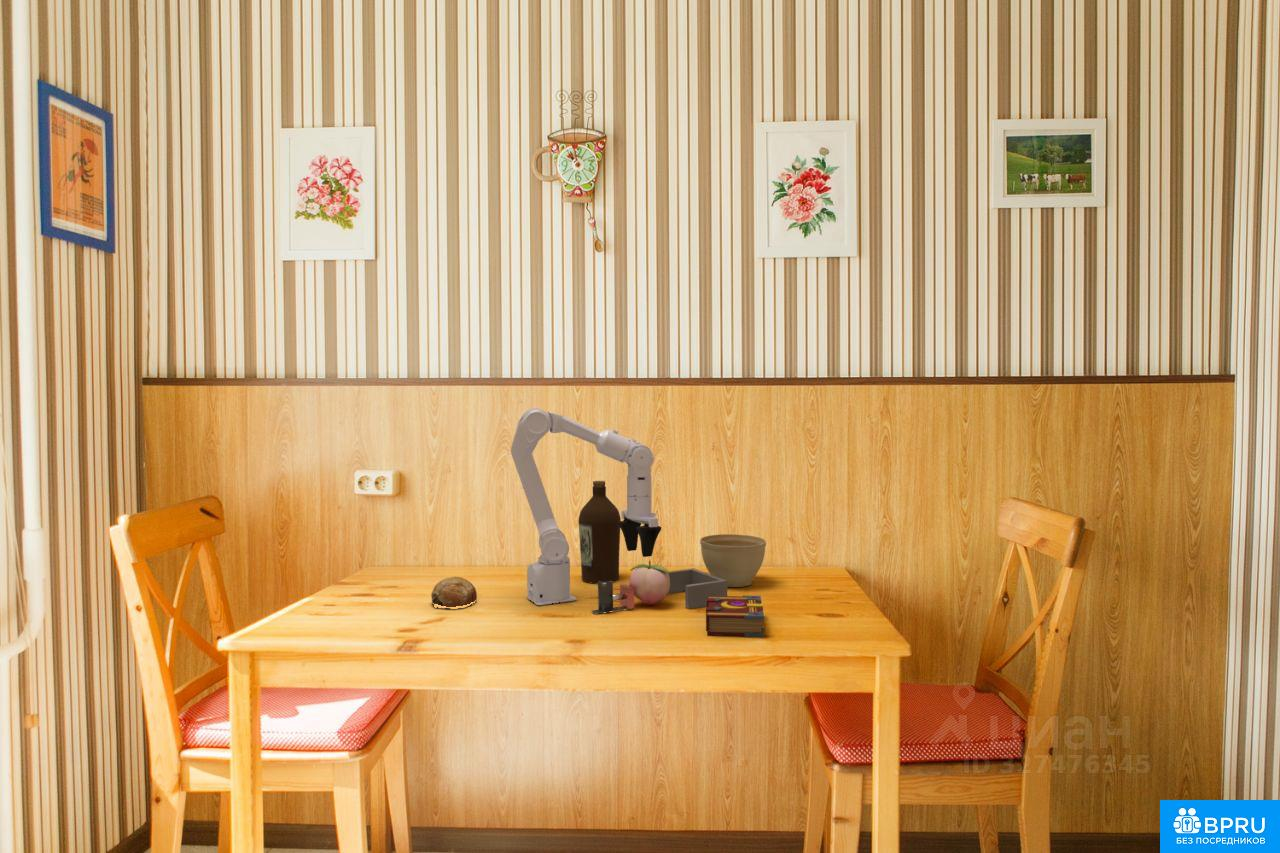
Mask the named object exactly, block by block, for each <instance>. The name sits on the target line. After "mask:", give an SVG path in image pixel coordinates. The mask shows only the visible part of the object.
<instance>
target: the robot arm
mask: <svg viewBox="0 0 1280 853" xmlns="http://www.w3.org/2000/svg"><path fill="white" fill-rule="evenodd" d="M549 432H550V434H559V433H565V434H567V435H570V436H572V437H576V438H578V439H580V440H583V441H585V442H587V443H590V444H593V445H594V446H595V449H596V452H598V453H599V454H602V455H603V456H606V457H607V458H611V459H612V460H615V461H617V462H619V463H622V464H623V463H626V464H627V475H626V509H625V510H624V509H622V510H621V519H622V520H621V521H619V522H618V524H619V526H620V531H621V532H622V535H623V538H624V542H625V546H626V551H627V552H633V551H637V548H638V540H640V547H641V556H642V557H644V558H647V557H652V556H653V553H654V547H655V544H656V542H657V538H658V536H659V534H660V532H661V531H662V526H659V517H657V516H656V513H655V512H652V466H653V464H654V461H655V457H654V455H653V452H652V450H651V448H650V447H648V446H646V445H644V444H642V443H640V442H637V441H638V440H637V439H635V438H631V439H630V438H628V437H625V436H623V435H621V434H619V431H618V430H616V429H612V430H610V429H605V430H603V431H600V432H599V431H597V430H595V429H593V428H591V427H589V426H586V425H585V424H582V423H580V422H578V421H576V420H573V419H572V418H570V417H568V416H565V415H562V414H559V413H555V412H553V411H552V412H551V411H545V410H543V409H541V408H539V407H538V408H537V407H533V408H528V409H527V410H526V411H525V412H524V413H523V414H522V416H521V417H520V418H519V420H518V422H517V425H516V429H515V433H514V436H513V439H512V442H511V447H510V454H511V457H512V460H513V463H514V465H515V469H516V471H517V474H518V477H519V480H520V483H521V485H522V489H523V491H524V494H525V497H526V500H527V503H528V506H529V509H530V511H531V514H532V517H533V520H534V522H535V525H536V529H537V531H538V534H539V539H538V545H539V548H540V553H541V555H539V556H538V558H537V562H533V563H530V564H528V566H527V570H526V584H527V589H526V591H527V592H526V594H527V595H526V597H527V598H526V597H525V598H526V599H528V600H529V601H530V600H531V602H532V603H533V602H534V604H535V605H537V606H545V605H551V604H552V603H553V604H560V603H567V602H571V601H577V597H576V596H574V595H573V594H571V573H570V572H571V570H570V569H571V568H570V567H571V566H570V565H571V563H570V562H571V561H570V558H571V557H570V556H568V555H569V552H570V545H569V542H568V540H567V539H566V535H565V534H564V533H563V531H561V530H560V529H559V526H558V525H557V521H556V518H555V515H554V513H553V510H552V508H551V504H550V501H549V499H548V496H547V493H546V490H545V487H544V484H543V481H542V479H541V476H540V472H539V470H538V467H537V464H536V461H535V458H534V456H533V453H534V451H535V449H536V447H537V446H538V444H539V441H540V440H541V439H543V437H545V435H547V433H549ZM559 602H560V603H559Z"/></svg>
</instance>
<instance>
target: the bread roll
mask: <svg viewBox="0 0 1280 853" xmlns="http://www.w3.org/2000/svg"><path fill="white" fill-rule="evenodd" d="M430 596H431V604H432V603H434V604H438V605H441V606H446V607H456V606H463V605H467V604H470V603H471V602H474V601H475V600H476V601H477V600H478V599H477V598H478V597H477V596H478V593H477V589H476V587H475V586H474V585H473V583H471V581H469V580H467V579H466V578H463V577H461V576H451V577H446V578H444V579H443V578H442V580H440V581H438V582H437V583H436V584H435V585H434V587H433V588H432V592H431V595H430Z"/></svg>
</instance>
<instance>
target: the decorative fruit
mask: <svg viewBox="0 0 1280 853" xmlns="http://www.w3.org/2000/svg"><path fill="white" fill-rule="evenodd" d="M631 571H633V572H632V573H631V574H630V577H629V581H628V582H629V583H628V585H630V586H632V587H634V597H635V598H637V599H638V600H639V601H641V602H643V603H644V604H646V605H647V606H652V605H654V604H656V603H659V602H660V601H662V600H663V599H664V598H666V596H668V595H669V594H668V592H669V589H670V578H669V575H668V573H669V570H668V568H666V567H665V566H663V565H660V564H658V565H657V564H652V565H651V560H649V561H648V564H642V563H641V564H637V565H635V566H632V568H630V572H631Z"/></svg>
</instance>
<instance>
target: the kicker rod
mask: <svg viewBox="0 0 1280 853" xmlns="http://www.w3.org/2000/svg"><path fill="white" fill-rule="evenodd" d="M617 601H619V603H620V604H619V605H620V606H624V607H626V608H627V609H628V608H633V609H634V608H635V595H634V587H632V586H630V585H629V583H628V584H627V583H623V584H619V593H614V582H613V581H610V580H601V581H598V584H597V602H598V603H597V604H598V605H597V608H598V609H597V610H599V611H612V610H613V607H614V602H617Z"/></svg>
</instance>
